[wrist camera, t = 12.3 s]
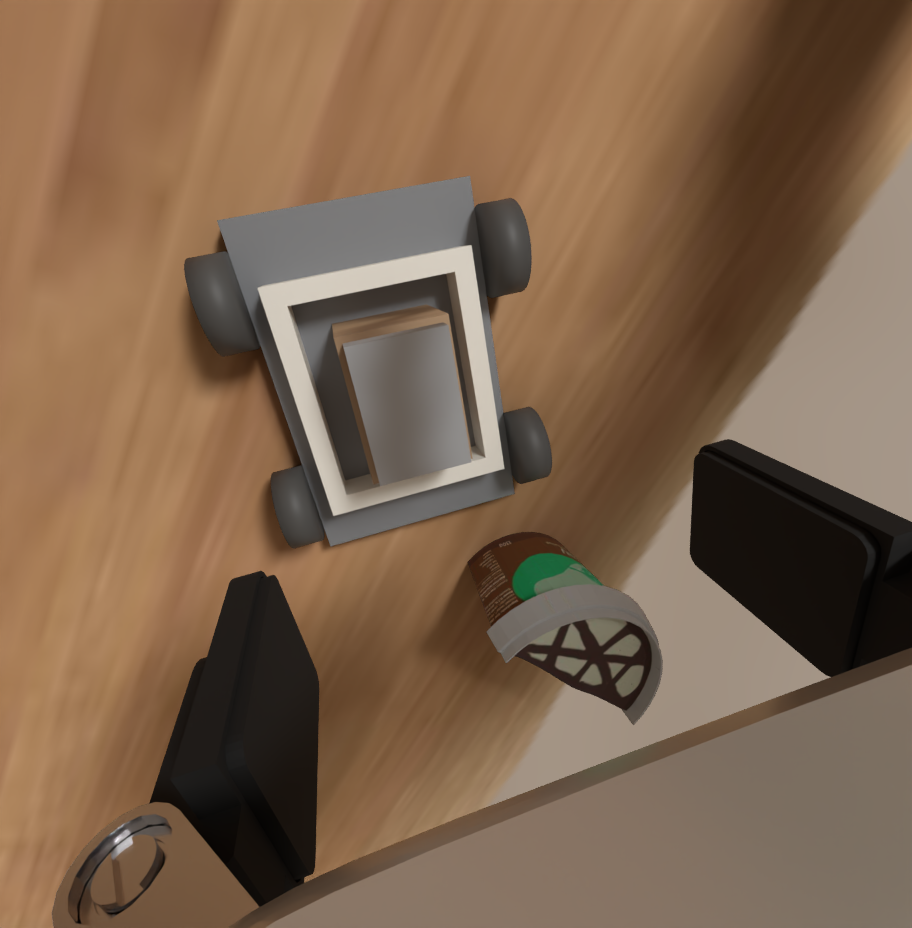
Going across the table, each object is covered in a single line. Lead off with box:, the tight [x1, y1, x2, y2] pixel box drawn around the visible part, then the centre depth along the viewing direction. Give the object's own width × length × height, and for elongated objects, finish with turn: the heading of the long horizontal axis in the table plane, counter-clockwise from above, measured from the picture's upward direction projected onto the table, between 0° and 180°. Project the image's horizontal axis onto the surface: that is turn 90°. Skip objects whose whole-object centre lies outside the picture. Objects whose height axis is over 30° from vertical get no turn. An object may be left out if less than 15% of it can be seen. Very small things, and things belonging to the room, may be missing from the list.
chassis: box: [184, 176, 552, 548], centre depth 26 cm, size 15×18×4 cm
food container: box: [468, 532, 662, 725], centre depth 31 cm, size 12×6×10 cm, turn 49°
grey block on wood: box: [332, 304, 473, 486], centre depth 24 cm, size 5×7×6 cm
